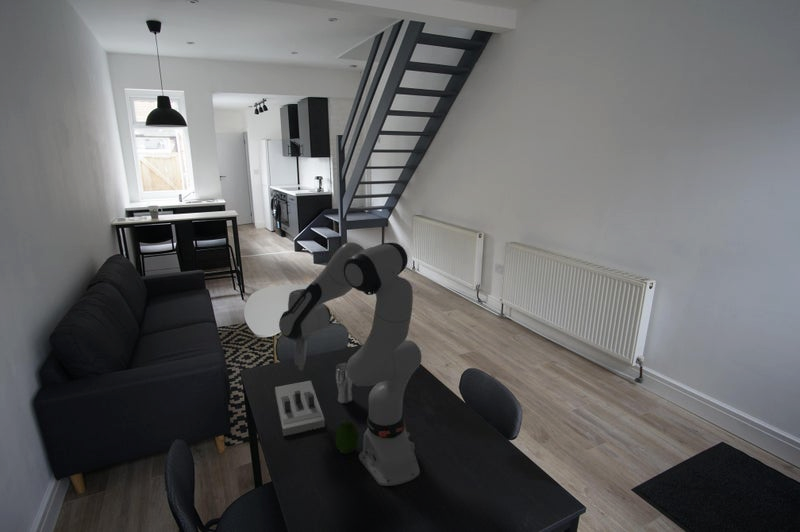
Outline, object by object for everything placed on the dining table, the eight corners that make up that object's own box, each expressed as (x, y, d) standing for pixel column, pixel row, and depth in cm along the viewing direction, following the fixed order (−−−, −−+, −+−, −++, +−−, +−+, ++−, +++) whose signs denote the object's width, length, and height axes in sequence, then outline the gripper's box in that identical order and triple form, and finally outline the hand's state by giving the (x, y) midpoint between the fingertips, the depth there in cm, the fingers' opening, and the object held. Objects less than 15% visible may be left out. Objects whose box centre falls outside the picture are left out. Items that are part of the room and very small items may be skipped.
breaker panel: (324, 426, 156) (324, 409, 154) (283, 436, 151) (282, 417, 149) (310, 386, 183) (310, 371, 181) (275, 393, 178) (274, 377, 176)
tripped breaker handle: (301, 402, 166) (300, 393, 165) (295, 403, 165) (295, 394, 164) (300, 399, 167) (299, 390, 166) (295, 400, 167) (294, 391, 166)
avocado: (337, 461, 139) (336, 429, 136) (334, 445, 146) (333, 415, 143) (361, 456, 141) (360, 425, 138) (357, 441, 148) (356, 411, 145)
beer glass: (355, 395, 177) (354, 362, 173) (351, 404, 170) (350, 371, 166) (339, 394, 177) (337, 362, 174) (334, 403, 171) (333, 370, 167)
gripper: (308, 342, 149) (309, 377, 153) (310, 319, 168) (311, 350, 172) (290, 343, 148) (291, 378, 152) (294, 319, 167) (295, 351, 171)
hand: (301, 363), depth 162 cm, fingers open, 8 cm apart
